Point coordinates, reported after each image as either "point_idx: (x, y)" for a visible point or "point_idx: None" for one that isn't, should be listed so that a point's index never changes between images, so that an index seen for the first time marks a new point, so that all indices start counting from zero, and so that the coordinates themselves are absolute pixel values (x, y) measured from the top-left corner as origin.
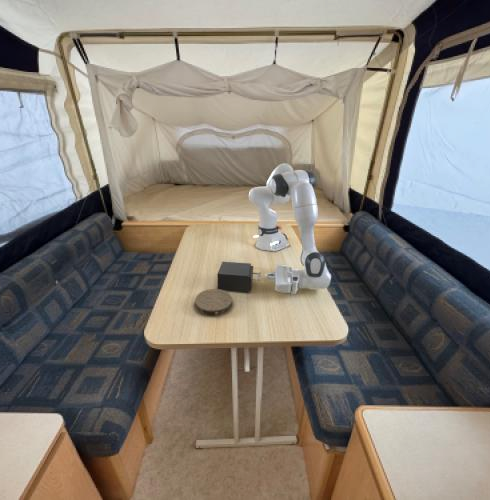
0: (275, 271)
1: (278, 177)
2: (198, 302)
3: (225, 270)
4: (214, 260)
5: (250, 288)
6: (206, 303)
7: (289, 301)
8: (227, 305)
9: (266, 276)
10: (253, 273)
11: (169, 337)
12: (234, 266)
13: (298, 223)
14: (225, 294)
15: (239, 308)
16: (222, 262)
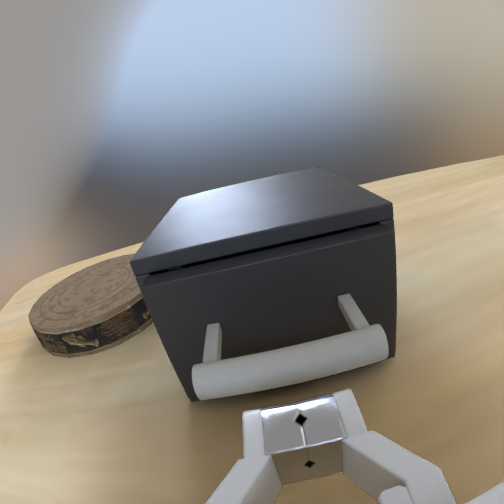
0: (487, 491)
1: None
2: (88, 269)
3: (216, 194)
4: (438, 207)
5: (183, 383)
6: (74, 282)
7: None
8: (37, 325)
9: (244, 420)
10: (339, 304)
11: (24, 292)
12: (280, 189)
13: None
14: (112, 300)
15: (52, 384)
16: (307, 169)
